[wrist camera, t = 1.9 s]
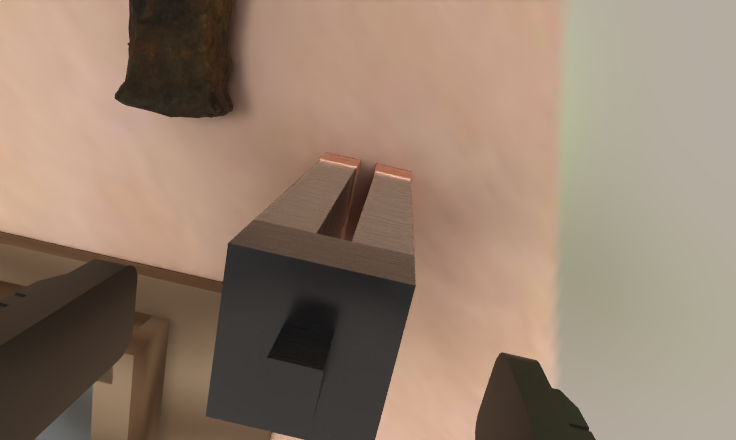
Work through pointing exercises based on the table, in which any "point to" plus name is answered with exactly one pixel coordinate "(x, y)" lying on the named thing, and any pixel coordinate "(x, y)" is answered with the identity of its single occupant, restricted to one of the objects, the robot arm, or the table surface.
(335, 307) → the grey square peg
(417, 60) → the table surface
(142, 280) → the stand
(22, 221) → the table surface
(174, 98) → the dark wooden branch
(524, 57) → the table surface
